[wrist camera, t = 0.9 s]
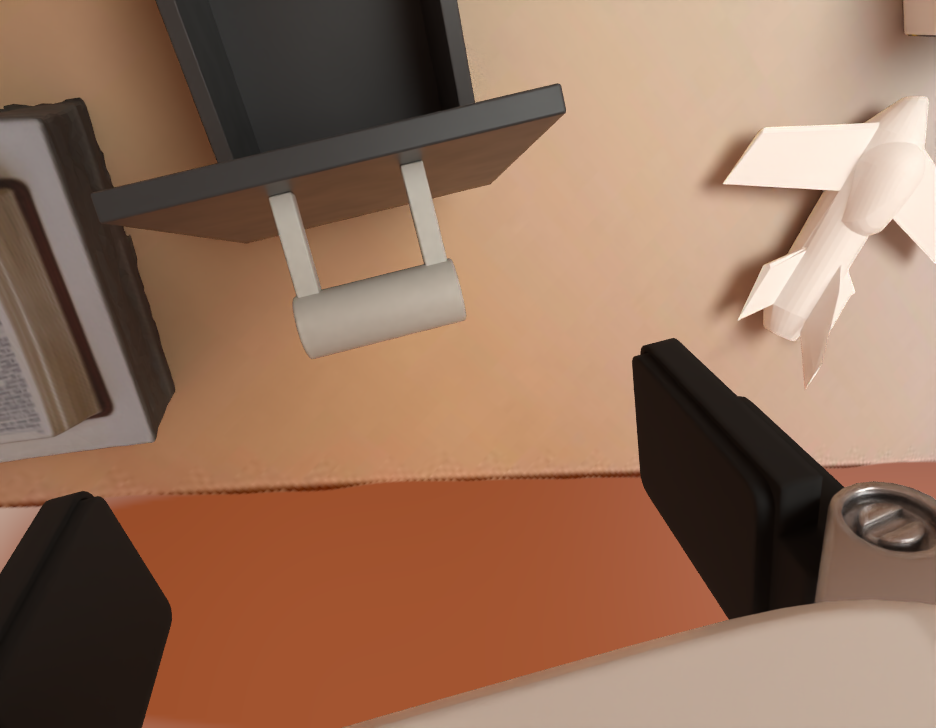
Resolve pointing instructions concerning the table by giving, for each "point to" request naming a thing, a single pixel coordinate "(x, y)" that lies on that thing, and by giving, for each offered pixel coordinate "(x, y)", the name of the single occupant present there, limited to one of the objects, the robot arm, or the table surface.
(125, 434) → the bible
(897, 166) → the airplane model
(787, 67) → the table surface
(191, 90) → the dark grey box
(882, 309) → the table surface
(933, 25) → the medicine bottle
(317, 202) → the door
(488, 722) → the robot arm
